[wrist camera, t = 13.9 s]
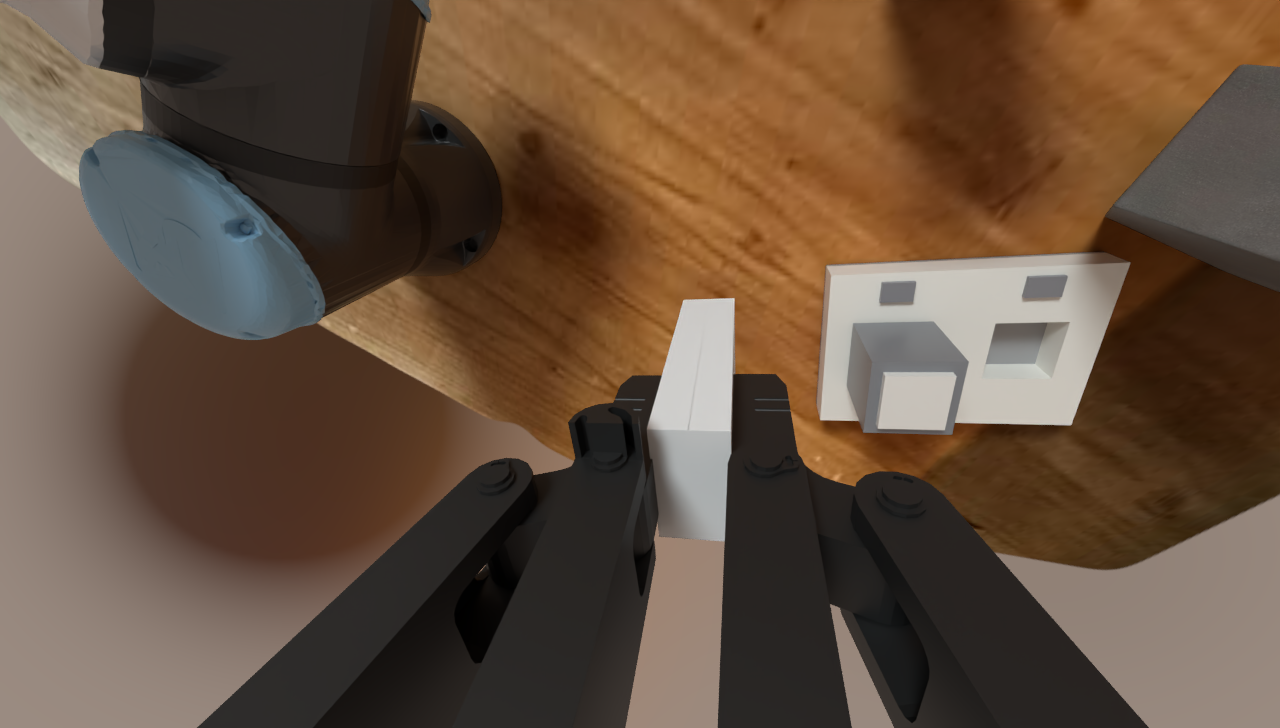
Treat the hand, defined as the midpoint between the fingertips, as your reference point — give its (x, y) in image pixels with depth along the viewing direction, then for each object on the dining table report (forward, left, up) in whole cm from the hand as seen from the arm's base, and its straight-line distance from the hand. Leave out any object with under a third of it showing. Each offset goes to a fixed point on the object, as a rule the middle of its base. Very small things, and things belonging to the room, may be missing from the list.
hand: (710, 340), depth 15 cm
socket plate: (+18, -13, -29) cm, 37 cm away
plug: (+13, -13, -29) cm, 34 cm away
